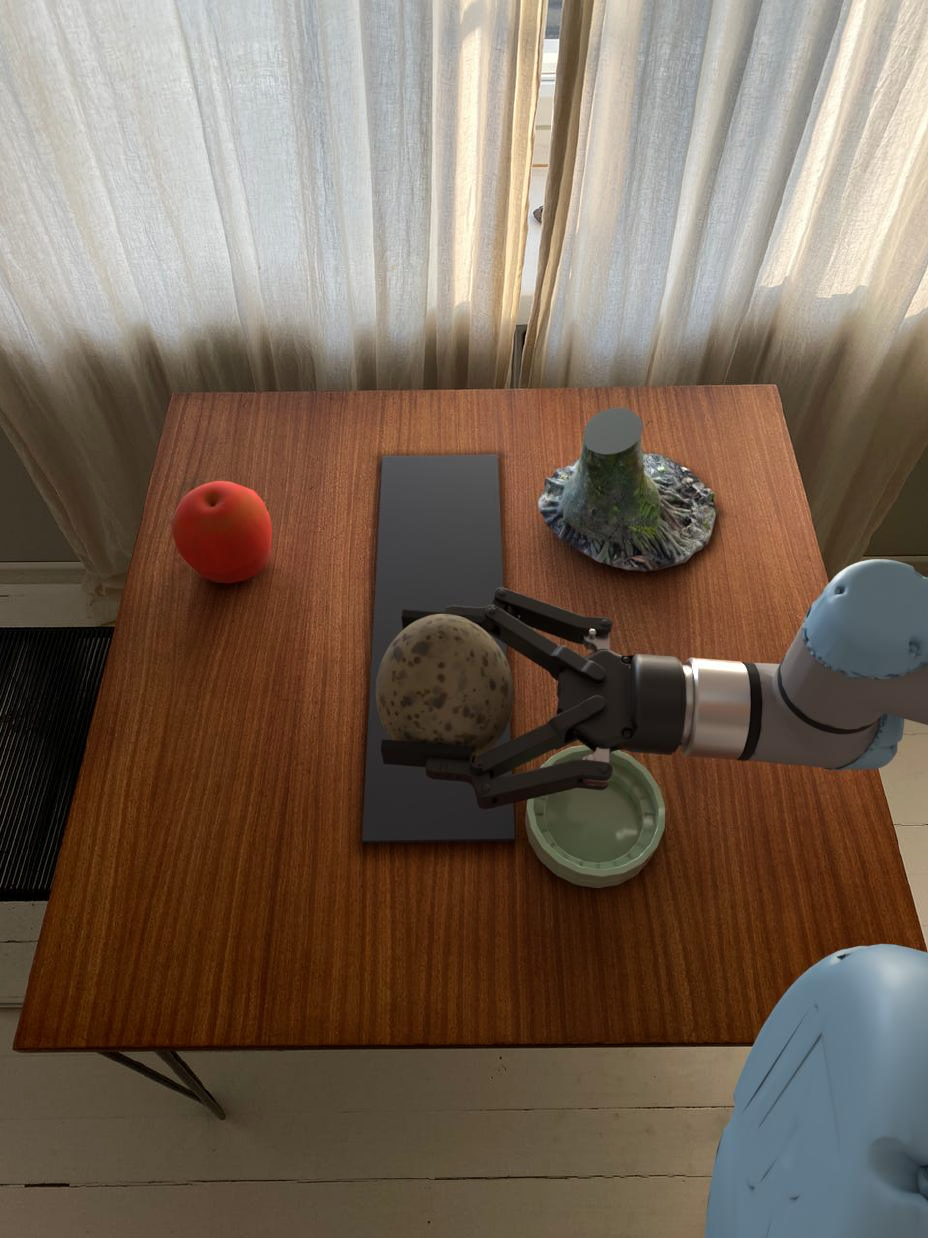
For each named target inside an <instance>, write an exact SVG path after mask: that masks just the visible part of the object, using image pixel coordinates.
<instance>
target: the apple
mask: <svg viewBox="0 0 928 1238" xmlns="http://www.w3.org/2000/svg"><path fill="white" fill-rule="evenodd" d="M271 521H272V520H271V517H270V514H269V512H268V509H267V507H266V504H265V502H264V501H263V499H262V498H261V497H260V496H259V495H258V493H257V492H255V490H253V489H251V488H249V487H245V486H243V485H241V484H238V483H236V482H232V481H227V480H226V481H225V480H214V481H211V482H208V483H203V484H201V485H199V486H198V487H196V488H194V489H192V490H190V491H189V492H188V493H187V494H186V495H185V496H184V497H183V498H181V500H180V502H179V503H178V505H177V507H176V509H175V511H174V514H173V516H172V518H171V521H170V527H171V531H172V537H173V540H174V543H175V545H176V548H177V551H178V553H179V555H180V556H181V557H182V558H183V560H184V561H185V562H186V563H187V564H188V566H190V567H191V568H192V570H194V571H195V572H196V573H197V574H198V575H199V576H200V577H202V578H203V579H205V580H208V581H210V582H214V583H220V584H221V583H222V584H234V583H238V582H244V581H246V580H248V579H250V578H252V577H254V576H256V575H257V574H259V573H260V572H261V571H262V569H263V568H264V567H265V565H266V564H267V563H268V562H269V559H270V555H271V552H272V548H273V547H272V545H273V529H272V522H271Z"/></svg>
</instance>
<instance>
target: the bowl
mask: <svg viewBox="0 0 928 1238" xmlns="http://www.w3.org/2000/svg"><path fill="white" fill-rule="evenodd" d="M593 753H594V751H592V750H591V749H589V748H588V747H587V746H585V745H584V744H582V745H576V746H570V747H568V748H566V749H564V750H561V751H560V752H557V753H555V754H553V755H552V756H551V757H549V758H548V759H547V760H546V761H545V762H544V763H543V764H542V765H541V766H540V767H539V768H542V767H547V766H551V765H555V764H560V763H564V762H568V761H574V760H582V758H583V757H584V756H585V755H589V754H593ZM610 765H611V766H612V769H613V772H612V775H611V778H610V781H609V784H608V787H607V788H606V789H604V790H593V789H583V788H575V789H571V790H566V791H562V792H558V793H554V794H549V795H545V796H541V797H537V798H532V799H528V800H526V807H525V808H526V809H525V814H524V815H525V816H524V824H525V829H526V835H527V840H528V842H529V844H530V846H531V849H532V850H533V852H534V853H535V855H536V856H537V859H538V860H539V862H541V863H542V864H543V865H544V866H545V867H546V868H548V869H549V871H551V872H552V873H553V874H554V875H555V876H557V877H559V878H561V879H563V880H565V881H567V882H569V883H571V884H573V885H575V886H580V887H587V888H594V889H601V888H607V887H614V886H618V885H621V884H622V883H625V882H626V881H628V880H630V879H632V878H633V877H636V876H637V875H638V874H640V872H641V871H642V870H643V869H644V868H645V867H646V865H647V864H648V863H650V862H651V859H652V858H653V856H654V854H655V852H656V850H657V849H658V847H659V844H660V841H661V839H662V837H663V834H664V831H665V828H666V805H665V800H664V797H663V794H662V791H661V787H660V785H659V784H658V783H657V782H656V780H655V779H654V777H653V775H652V774H651V772H650V771H649V770H648V768H647V767H645V766H644V765H643V764H641V762H639V761H638V760H637V759H636V758H634V757H633V756H632V755H630V754H628V753H626V752H623V751H622V750H617V751H613V752H611V753H610Z"/></svg>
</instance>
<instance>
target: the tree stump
mask: <svg viewBox="0 0 928 1238" xmlns="http://www.w3.org/2000/svg"><path fill="white" fill-rule="evenodd" d="M643 430H644V425H643V420H642V419H641V418H640V417H639V415H637V414H636V412H634V411H632V410H630V409H629V408H627V407H619V406H615V407H610V408H605V409H604V410H601V411H599V412H598V413H596V414H594V415H593V416H592V417H591V418H590V419H589V420H588V421H587V423H586V425H585V426H584V430H583V437H582V444H581V448H580V449H581V450H580V457H579V458H578V459H576V460H575V461H573V462H572V463H570V465H565V467H563V468H562V467H558V468H556V469H555V470H554V471H553V475H551V478H550V477H545V478H544V483H543V485H544V489H543V490H542V493H541V495H540V496H539V498H538V501H537V503H538V506H537V508H538V512H539V513H540V514H541V515H542V517H543V520H544V524H545V525H546V526H547V527H548V529H550V530H552V531H553V532H554V534H555V535H556V536H557V538H558V539H559V540H561V541H562V542H563V543H566V544H568V545H570V546H571V547H572V548H574V549H575V550H576V551H578V552H581V553H582V554H584V555H585V556H587V557H589V558H591V559H592V560H594V561H596V562H597V563H602V564H604V565H607V566H611V567H613V568H619V569H622V570H626V571H638V572H643V573H646V572H657V571H660V570H663V569H666V568H671V567H675V566H678V565H681V564H682V565H683V564H685V563H686V562H687V561H688V560H689V559H690V558H691V557H692V556H693V555H694V554H696V553H697V552H699V551H701V550H702V549H704V547H705V546H707V545H708V544H709V542H710V539H711V537H712V532H713V528H714V525H715V520H716V516H717V512H718V510H717V508H716V506H715V504H714V501H715V500H716V492H715V491H712V489H711V488H709V487H708V488H707V487H706V484H705V483H704V482H703V481H702V480H701V479H700V478H699V477H697V476H695V475H694V474H693V473H692V470H690V469H688V468H687V467H684V466H682V465H680V464H679V463H677V462H675V461H674V460H672V459H670V458H669V457H667V456H665V455H663V454H658V453H650V452H649V453H648V452H645V451H643V447H642V437H643Z"/></svg>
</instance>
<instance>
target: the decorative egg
mask: <svg viewBox="0 0 928 1238" xmlns="http://www.w3.org/2000/svg"><path fill="white" fill-rule="evenodd" d="M514 685H515V684H514V679H513V674H512V670H511V667H510V664H509V662H508V659H507V660H506V657H505V655H504V654H503V652H502V650H501V649H500V647H499V646H498V644H497V643H496V642H495V640H494V639H493V638H492V637H491V636H490V635H489V634H488V633H487V632H486V631H485V630H484V629H482V628H481V627H480V626H478V625H477V624H475V623H473V622H472V621H470V620H468V619H466V618H463V617H460V616H456V615H451V614H435V615H430V616H426V617H423V618H421V619H419V620H417V621H415V622H413V623H412V624H410V625H409V626H407V627H406V628H405V629H404V630H402V631H401V632H400V633H399V634H398V635H397V637H396V638H395V639H394V640H393V642H392V643H391V644H390V646H389V648H388V649H387V651H386V653H385V655H384V657H383V659H382V662H381V665H380V667H379V671H378V676H377V681H376V703H377V709H378V713H379V717H380V719H381V722H382V724H383V727H384V729H385V730H386V732H387V734H388V735H389V737H390V738H391V740H398V741H410V742H422V743H435V744H447V745H460V746H471V756H472V755H473V754H475V757H477V756H479V755H481V754H484V753H486V752H488V751H489V750H490V749H492V748H493V747H494V745H495V744H496V743H497V742H498V741H499V739H500V738H501V737H502V735H503V733H504V732H505V730H506V728H507V726H508V724H509V721H510V722H511V718H512V714H513V709H514V704H515V686H514Z"/></svg>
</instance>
